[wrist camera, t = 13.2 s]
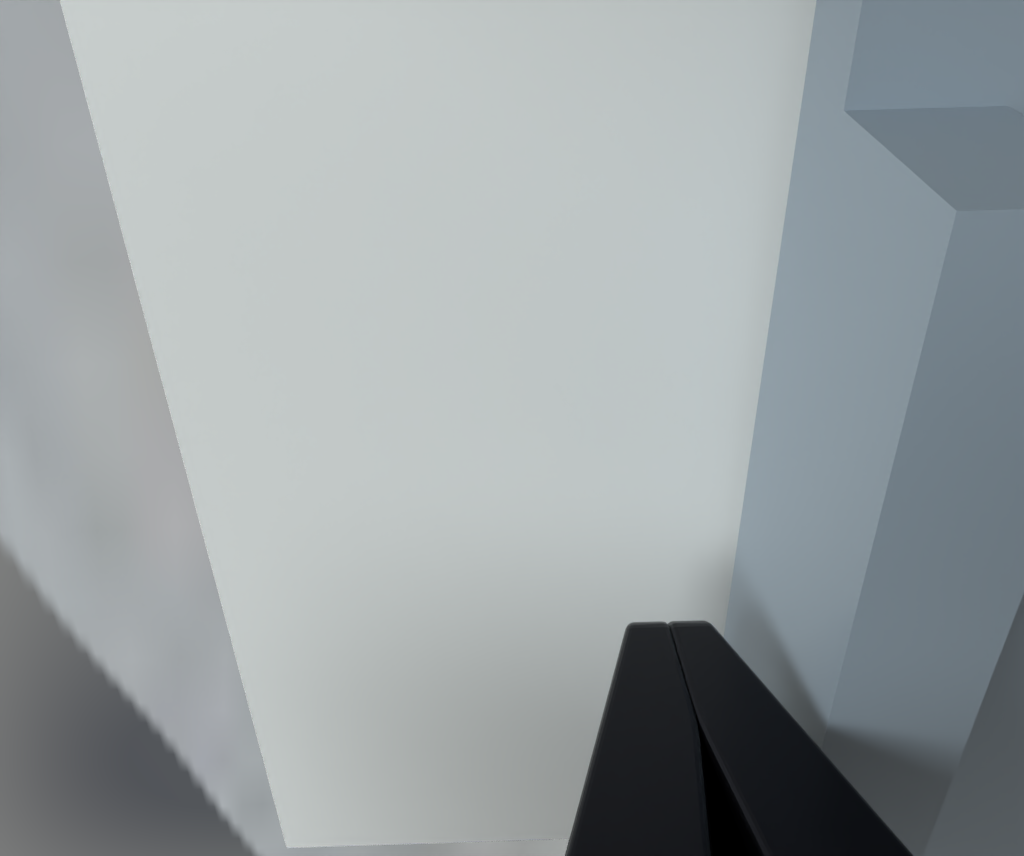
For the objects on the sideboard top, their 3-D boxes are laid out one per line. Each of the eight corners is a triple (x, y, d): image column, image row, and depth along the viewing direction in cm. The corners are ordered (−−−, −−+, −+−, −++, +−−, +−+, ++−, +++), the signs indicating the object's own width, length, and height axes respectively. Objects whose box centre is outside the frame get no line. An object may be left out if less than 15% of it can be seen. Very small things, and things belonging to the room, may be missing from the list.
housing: (208, -103, 12) (48, -45, 7) (1821, -148, 12) (2578, -114, 7) (333, 604, 18) (286, 847, 14) (1358, 573, 18) (1619, 804, 14)
